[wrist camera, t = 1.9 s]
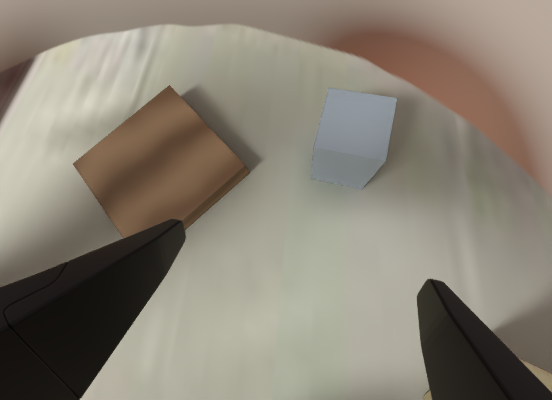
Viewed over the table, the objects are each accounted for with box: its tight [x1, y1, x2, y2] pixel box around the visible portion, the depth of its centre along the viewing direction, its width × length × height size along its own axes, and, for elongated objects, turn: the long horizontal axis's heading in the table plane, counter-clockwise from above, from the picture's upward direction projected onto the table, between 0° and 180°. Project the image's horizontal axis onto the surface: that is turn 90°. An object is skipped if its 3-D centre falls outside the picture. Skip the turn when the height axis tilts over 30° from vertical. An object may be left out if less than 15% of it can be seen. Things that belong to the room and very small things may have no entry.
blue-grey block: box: [311, 88, 397, 189], centre depth 21 cm, size 5×5×7 cm
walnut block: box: [73, 85, 250, 238], centre depth 25 cm, size 13×13×2 cm
